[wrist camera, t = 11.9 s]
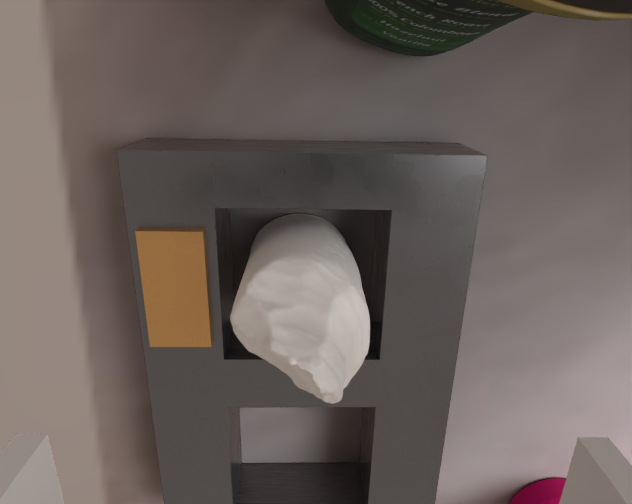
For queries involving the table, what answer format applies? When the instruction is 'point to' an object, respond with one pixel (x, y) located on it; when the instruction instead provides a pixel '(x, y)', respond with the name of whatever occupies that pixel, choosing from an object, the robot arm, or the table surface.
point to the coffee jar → (453, 19)
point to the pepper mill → (541, 492)
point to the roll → (304, 305)
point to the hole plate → (258, 374)
